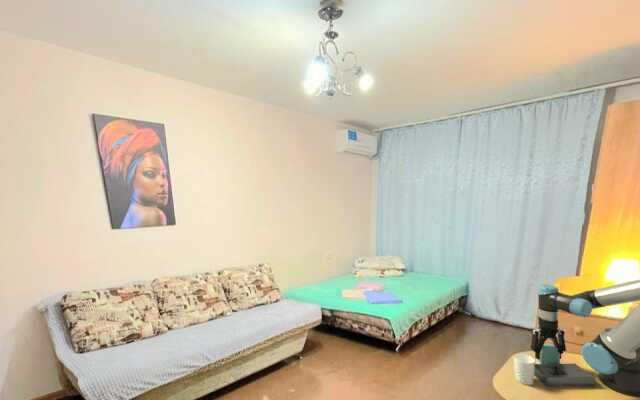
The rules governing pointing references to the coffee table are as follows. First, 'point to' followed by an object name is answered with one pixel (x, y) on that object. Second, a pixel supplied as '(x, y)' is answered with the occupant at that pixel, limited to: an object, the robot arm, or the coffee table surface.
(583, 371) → the grey slotted board
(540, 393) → the coffee table surface
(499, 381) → the coffee table surface
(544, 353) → the teal block
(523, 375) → the white cup
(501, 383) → the coffee table surface
